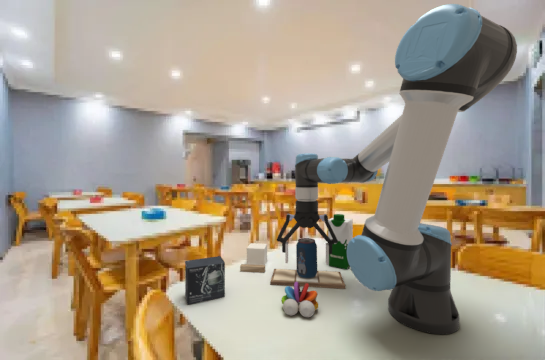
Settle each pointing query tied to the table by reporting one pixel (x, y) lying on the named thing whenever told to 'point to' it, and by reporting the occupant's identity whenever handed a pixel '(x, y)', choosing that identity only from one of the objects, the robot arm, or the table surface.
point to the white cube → (257, 254)
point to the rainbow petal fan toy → (299, 300)
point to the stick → (252, 268)
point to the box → (204, 279)
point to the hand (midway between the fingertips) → (306, 262)
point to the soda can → (306, 258)
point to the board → (320, 280)
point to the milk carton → (340, 240)
